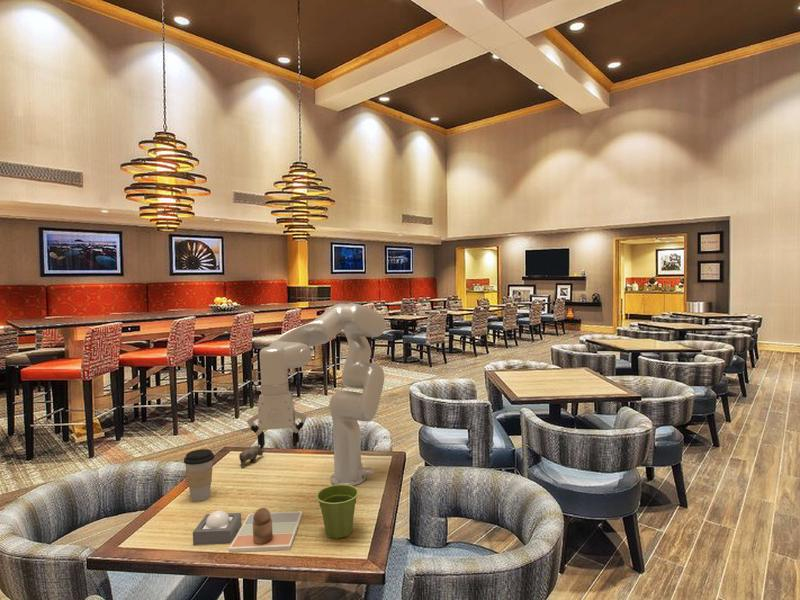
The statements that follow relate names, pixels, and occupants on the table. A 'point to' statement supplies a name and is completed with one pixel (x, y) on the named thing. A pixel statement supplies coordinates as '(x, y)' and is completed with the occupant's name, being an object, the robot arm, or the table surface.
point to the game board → (281, 529)
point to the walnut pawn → (262, 527)
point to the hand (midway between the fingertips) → (279, 445)
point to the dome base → (217, 531)
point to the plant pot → (338, 509)
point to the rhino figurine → (250, 455)
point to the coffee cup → (199, 473)
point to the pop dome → (217, 520)
